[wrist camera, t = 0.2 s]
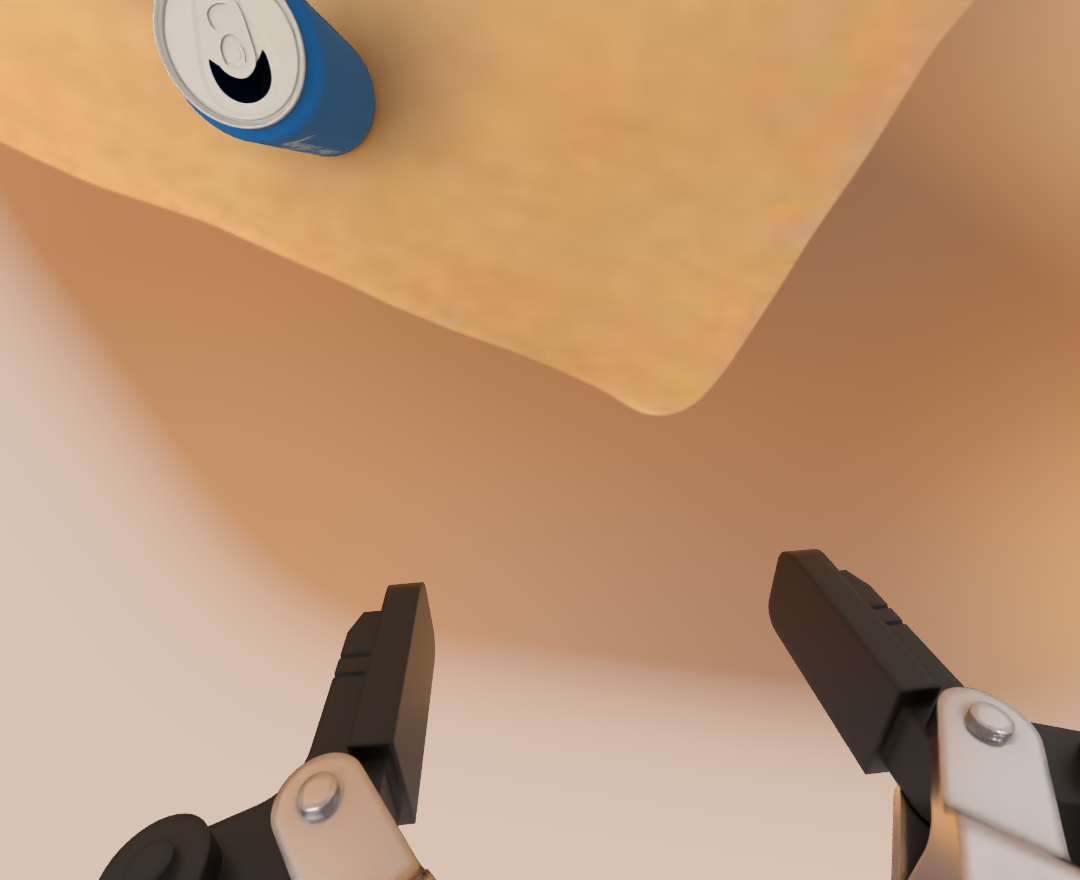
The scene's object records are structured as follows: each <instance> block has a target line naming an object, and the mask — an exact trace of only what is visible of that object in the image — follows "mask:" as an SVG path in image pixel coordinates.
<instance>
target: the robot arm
mask: <svg viewBox="0 0 1080 880" xmlns="http://www.w3.org/2000/svg"><path fill="white" fill-rule="evenodd" d="M769 615H770V619H771V622H772V625H773V627H774V629H775V631H776V633H777V634H778V636H779V638H780V639H781V641H782V642H783V644H784V646H785V647H786V649H787V650H788V652H789V654H790V655H791V656H792V658H793V660H794V661H795V663H796V665H797V666H798V668H799V669H800V671H801V672H802V674H803V676H804V677H805V679H806V681H807V682H808V684H809V685H810V687H811V688H812V690H813V692H814V693H815V695H816V696H817V698H818V700H819V701H820V703H821V704H822V706H823V708H824V709H825V711H826V712H827V714H828V716H829V717H830V719H831V720H832V722H833V723H834V725H835V727H836V728H837V730H838V731H839V733H840V734H841V736H842V738H843V739H844V741H845V742H846V744H847V746H848V747H849V749H850V750H851V752H852V754H853V755H854V757H855V758H856V760H857V762H858V763H859V765H860V766H861V768H862V770H863V771H864V773H865V774H872V773H881V772H890V773H891V775H892V776H893V777H894V779H895V781H896V782H897V786H896V788H895V791H894V802H893V839H892V876H891V880H1080V731H1074V730H1069V729H1064V728H1058V727H1053V726H1048V725H1042V724H1037V723H1032V722H1029V720H1028V719H1027V718H1026V717H1025V716H1023V715H1022V714H1021V713H1020V712H1019V711H1018V710H1016V709H1015V708H1013V707H1012V706H1011V705H1009V704H1008V703H1006V702H1004V701H1003V700H1001V699H999V698H997V697H995V696H993V695H991V694H988V693H986V692H983V691H980V690H977V689H972V688H967V687H964V686H963V685H962V684H961V683H960V682H959V681H958V680H957V679H956V678H955V677H954V675H953V674H952V673H951V672H950V671H949V670H948V669H947V668H946V667H945V666H944V665H943V664H942V663H941V662H940V660H939V659H938V658H937V657H936V656H935V655H934V654H933V653H932V652H931V651H930V650H929V649H928V648H927V646H926V645H925V644H924V643H923V642H922V641H921V640H920V639H919V638H918V637H917V636H916V635H915V634H914V633H913V631H911V629H910V628H909V627H908V626H907V625H905V624H903V623H902V620H901V619H900V617H899V616H898V615H897V614H896V613H895V612H894V611H893V610H892V609H891V608H888V606H887V603H885V601H884V600H883V599H882V598H881V597H880V596H879V595H878V594H877V593H876V592H875V591H874V590H873V588H872V587H871V586H870V585H868V584H867V583H865V582H863V581H862V580H860V579H859V578H857V577H855V576H854V575H852V574H851V573H849V572H848V571H846V570H842V571H839V570H838V569H837V568H836V567H835V566H834V565H833V563H832V562H831V561H830V560H829V559H828V558H827V557H826V555H825V554H824V553H822V552H821V551H820V550H817V549H810V550H800V551H788V552H782V553H781V554H780V556H779V558H778V562H777V566H776V571H775V576H774V580H773V585H772V589H771V594H770V598H769ZM434 659H435V639H434V630H433V625H432V619H431V614H430V609H429V604H428V598H427V593H426V588H425V584H424V583H423V582H420V583H409V584H398V585H390V586H388V588H387V591H386V594H385V598H384V602H383V606H382V610H381V611H373V612H364V613H363V614H362V615H361V617H360V618H359V619H358V620H357V621H356V623H355V624H354V625H353V627H352V628H351V629H350V630H349V632H348V633H347V636H346V640H345V643H344V646H343V649H342V652H341V659H339V661H338V665H337V668H336V671H335V678H333V680H332V683H331V687H330V690H329V693H328V696H327V699H326V702H325V705H324V709H323V712H322V715H321V718H320V721H319V724H318V727H317V731H316V734H315V737H314V740H313V743H312V747H311V750H310V752H309V755H308V757H307V759H306V761H305V763H304V764H303V765H302V766H300V767H299V768H298V769H296V771H295V772H293V773H292V774H291V775H290V776H289V778H288V779H287V780H286V781H285V783H284V784H283V785H282V787H281V788H280V790H279V792H278V793H277V794H276V795H274V796H273V797H272V798H270V799H268V800H266V801H265V802H263V803H261V804H259V805H257V806H254V807H252V808H250V809H248V810H246V811H243V812H241V813H238V814H236V815H234V816H231V817H229V818H227V819H224V820H222V821H220V822H217V823H215V824H213V825H210V826H207V825H206V823H205V822H204V820H202V819H201V818H200V817H198V816H196V815H193V814H176V815H173V816H169V817H166V818H163V819H161V820H158V821H157V822H155V823H153V824H151V825H149V826H148V827H146V828H145V829H143V830H142V831H140V832H139V833H138V834H136V835H135V836H134V837H133V838H131V839H130V840H129V841H128V842H127V843H126V844H125V845H124V846H123V847H122V848H121V849H120V850H119V851H118V852H117V854H116V855H115V856H114V857H113V858H112V860H111V861H110V863H109V864H108V865H107V867H106V868H105V870H104V872H103V873H102V875H101V877H100V879H99V880H436V879H435V878H434V876H433V875H432V874H431V873H430V872H429V870H427V869H426V870H425V869H424V868H423V867H422V866H421V865H420V863H419V861H418V860H417V858H416V857H415V855H414V853H413V851H412V850H411V848H410V846H409V845H408V843H407V841H406V840H405V838H404V836H403V834H402V833H401V831H400V829H399V828H398V825H404V824H414V823H415V821H416V812H417V804H418V795H419V786H420V778H421V770H422V761H423V753H424V745H425V736H426V728H427V720H428V711H429V703H430V694H431V685H432V678H433V668H434Z"/></svg>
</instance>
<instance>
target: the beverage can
mask: <svg viewBox="0 0 1080 880" xmlns="http://www.w3.org/2000/svg"><path fill="white" fill-rule="evenodd" d="M152 23H153V32H154V38H155V42H156V46H157V49H158V52H159V55H160V58H161V60H162V62H163V65H164V67H165V69H166V71H167V73H168V74H169V76H170V78H171V80H172V81H173V82H174V84H175V85H176V87H177V88H178V89H179V91H180V92H181V93H182V94H183V95H184V97H185V98H186V100H187V101H188V102H189V103H190V104H191V105H192V107H193V108H194V109H195V110H196V111H197V112H198V113H199V114H200V115H201V116H202V117H203V118H204V119H206V120H207V121H208V122H210V123H211V124H212V125H213V126H215V127H216V128H218V129H220V130H221V131H223V132H224V133H227V134H229V135H231V136H233V137H235V138H238V139H241V140H244V141H249V142H254V143H259V144H264V145H269V146H274V147H279V148H284V149H289V150H294V151H299V152H304V153H309V154H314V155H320V156H337V155H341V154H344V153H347V152H349V151H351V150H352V149H354V148H355V147H356V146H358V145H359V144H360V143H361V142H362V140H363V139H364V138H365V136H366V135H367V133H368V131H369V129H370V127H371V124H372V121H373V117H374V110H375V97H374V90H373V84H372V81H371V78H370V75H369V73H368V70H367V68H366V66H365V64H364V63H363V61H362V59H361V58H360V56H359V55H358V53H357V52H356V51H355V50H354V49H353V47H352V46H351V45H350V44H349V43H348V42H347V41H346V40H345V39H344V38H343V37H342V36H341V35H340V34H339V33H338V32H337V31H336V30H335V29H334V28H333V27H332V26H331V25H330V24H329V23H328V22H327V21H326V20H325V19H324V18H323V17H322V16H321V15H320V14H319V13H318V12H316V11H315V10H314V9H313V8H312V7H311V6H310V5H309V4H308V3H307V2H306V1H305V0H154V3H153V11H152Z"/></svg>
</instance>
